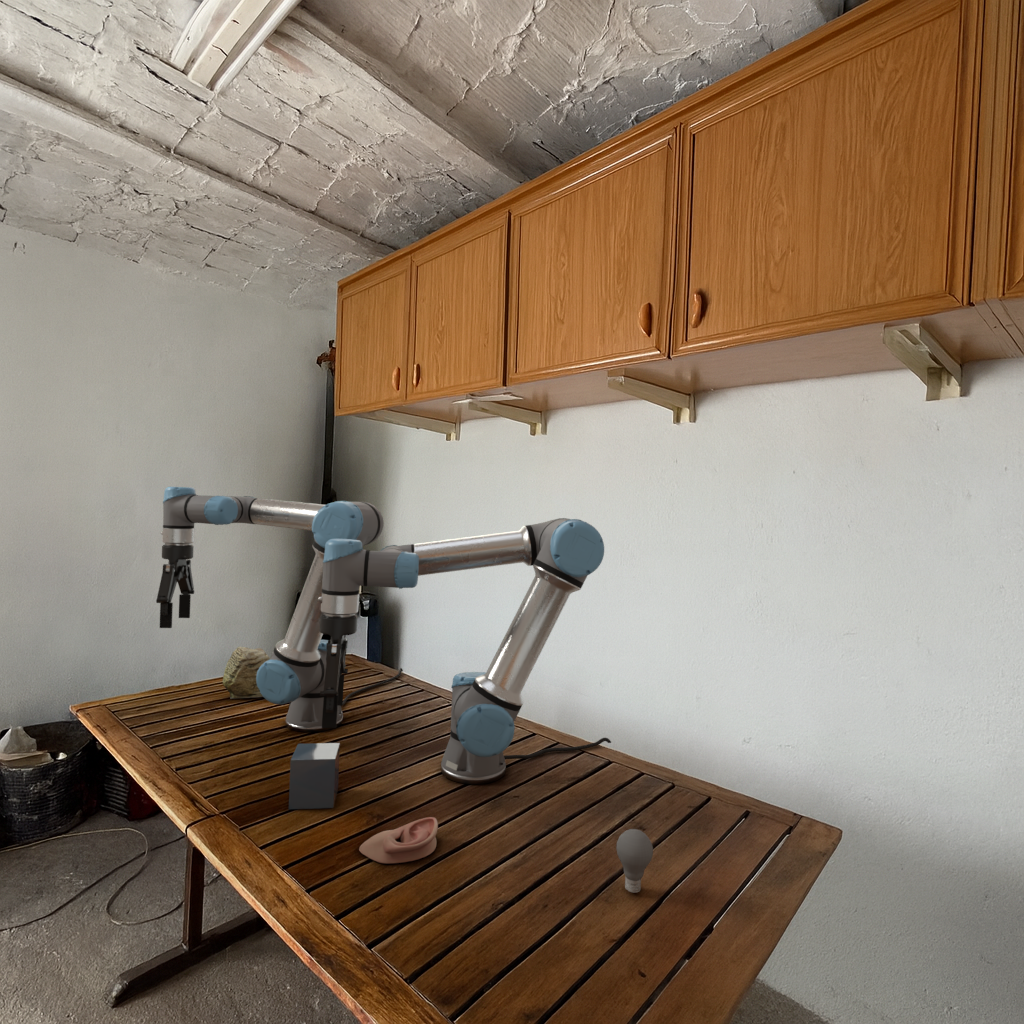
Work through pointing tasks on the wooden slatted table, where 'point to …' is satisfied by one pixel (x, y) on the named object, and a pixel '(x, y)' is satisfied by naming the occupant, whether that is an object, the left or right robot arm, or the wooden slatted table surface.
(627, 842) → the light bulb
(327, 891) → the wooden slatted table surface
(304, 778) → the block
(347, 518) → the left robot arm
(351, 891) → the wooden slatted table surface
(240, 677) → the fossil
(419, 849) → the anatomical model
